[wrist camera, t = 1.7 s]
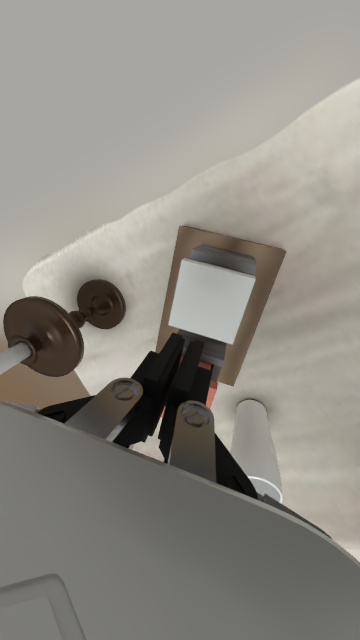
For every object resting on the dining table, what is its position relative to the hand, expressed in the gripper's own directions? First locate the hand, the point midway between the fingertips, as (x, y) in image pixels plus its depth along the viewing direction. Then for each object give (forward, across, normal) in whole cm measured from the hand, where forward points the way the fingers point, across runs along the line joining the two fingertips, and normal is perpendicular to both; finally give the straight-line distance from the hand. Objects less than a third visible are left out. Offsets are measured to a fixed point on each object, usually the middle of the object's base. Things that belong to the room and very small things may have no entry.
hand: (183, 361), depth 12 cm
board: (+25, 0, +6) cm, 26 cm away
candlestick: (+25, +19, +11) cm, 33 cm away
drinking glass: (+25, -12, +23) cm, 36 cm away
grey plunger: (+18, 0, 0) cm, 18 cm away
